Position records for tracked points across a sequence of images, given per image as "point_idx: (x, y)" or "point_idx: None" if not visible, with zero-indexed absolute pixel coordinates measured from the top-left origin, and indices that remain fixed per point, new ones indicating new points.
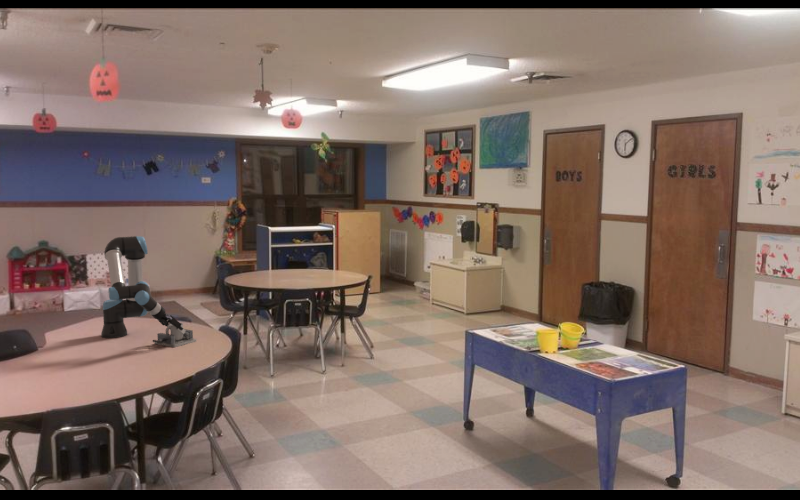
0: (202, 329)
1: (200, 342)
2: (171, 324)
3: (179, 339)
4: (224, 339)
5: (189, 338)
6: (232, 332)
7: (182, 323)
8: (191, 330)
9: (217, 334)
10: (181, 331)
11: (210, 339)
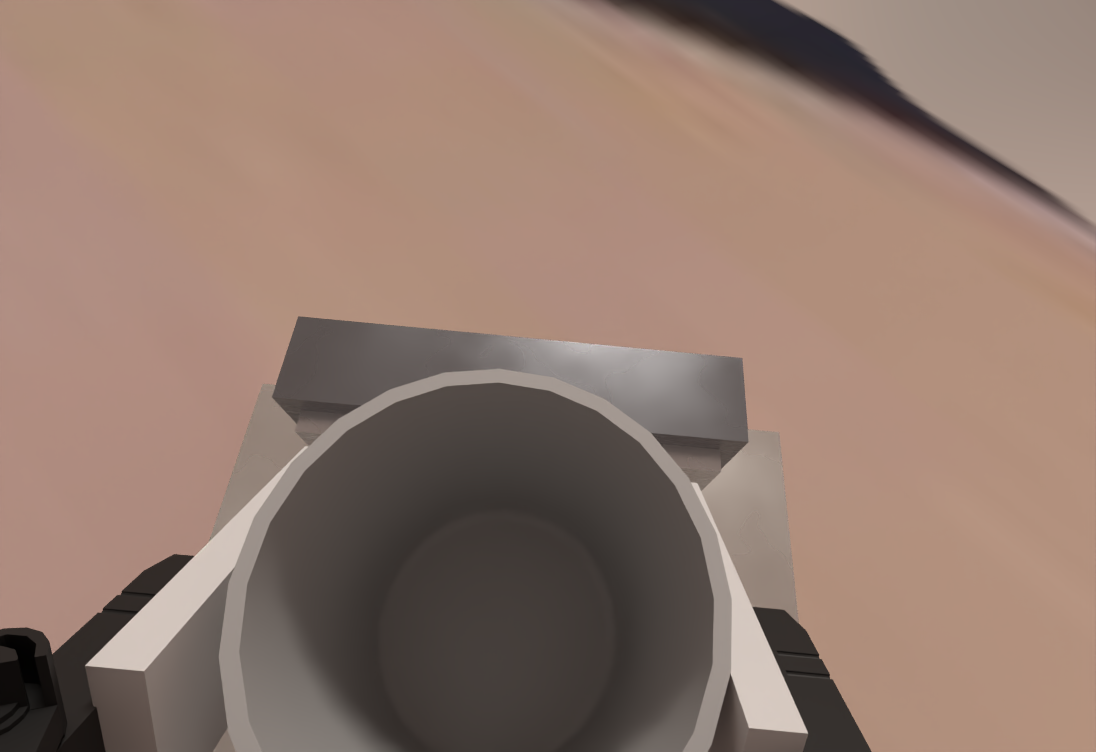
0: (342, 4)
1: (883, 479)
2: (248, 665)
3: (610, 675)
4: (995, 233)
5: None
6: (765, 8)
7: (600, 403)
8: (731, 375)
9: (693, 100)
10: None
11: (841, 292)
